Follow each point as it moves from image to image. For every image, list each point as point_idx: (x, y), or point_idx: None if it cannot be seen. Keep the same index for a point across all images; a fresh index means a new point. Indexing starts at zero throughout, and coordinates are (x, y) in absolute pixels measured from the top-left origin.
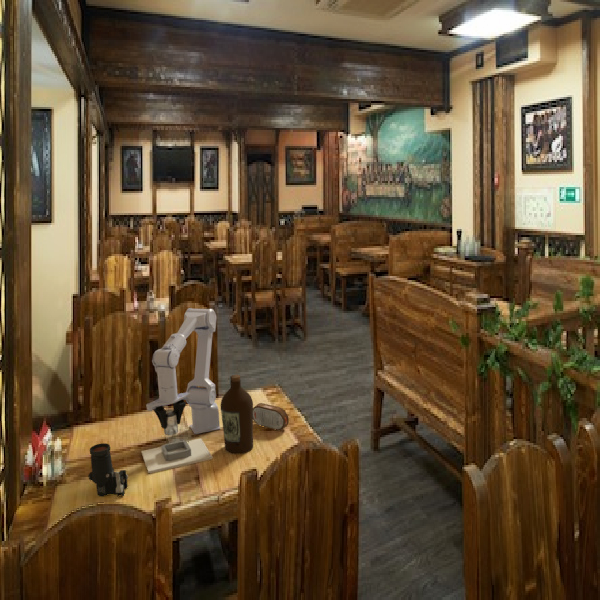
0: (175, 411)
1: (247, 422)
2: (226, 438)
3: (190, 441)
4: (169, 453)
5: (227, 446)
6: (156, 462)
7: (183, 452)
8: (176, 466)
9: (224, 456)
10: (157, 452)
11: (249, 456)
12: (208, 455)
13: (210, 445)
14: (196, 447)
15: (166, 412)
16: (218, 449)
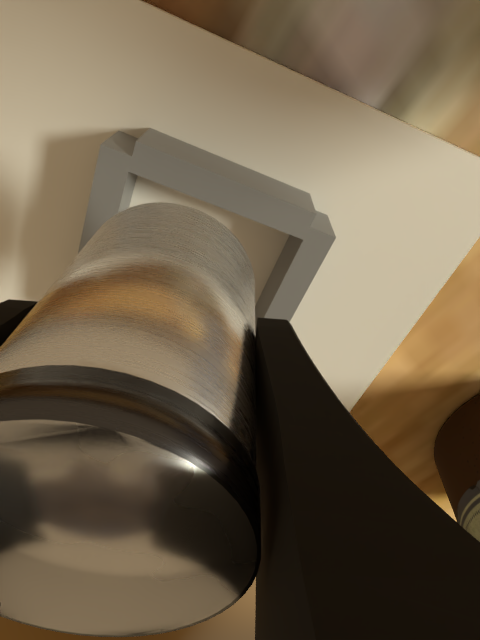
0: (209, 600)
1: None
2: (468, 515)
3: (421, 156)
4: None
5: (448, 467)
6: (19, 261)
7: None
8: None
9: (387, 448)
10: (84, 106)
11: (452, 515)
12: None
13: (466, 298)
14: (362, 288)
15: (7, 523)
16: (441, 375)
